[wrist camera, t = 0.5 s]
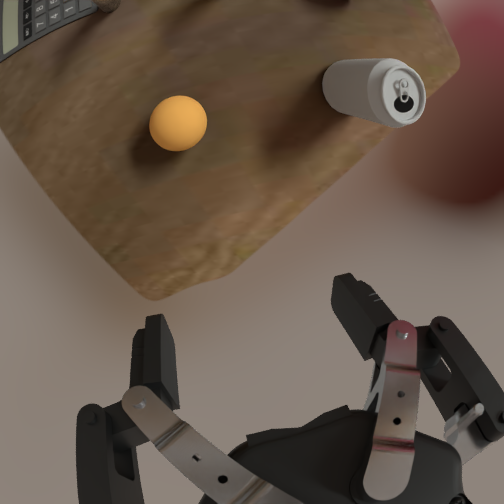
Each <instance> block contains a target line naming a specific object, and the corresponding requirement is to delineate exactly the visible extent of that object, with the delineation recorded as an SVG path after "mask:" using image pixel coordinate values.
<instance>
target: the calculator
mask: <svg viewBox="0 0 504 504" xmlns="http://www.w3.org/2000/svg"><path fill="white" fill-rule="evenodd" d="M97 10H98V6H97V5H96V4H95V3H93V2H92V1H91V0H0V62H2V61H3V60H5V59H6V58H8V57H9V56H11V55H12V54H14V53H15V52H17V51H18V50H20V49H21V48H23V47H25V46H26V45H28V44H30V43H31V42H33V41H35V40H37V39H39V38H40V37H42V36H44V35H46V34H48V33H50V32H52V31H54V30H56V29H58V28H60V27H62V26H64V25H66V24H68V23H70V22H73V21H75V20H77V19H80V18H82V17H84V16H87V15H89V14H92V13H94V12H96V11H97Z"/></svg>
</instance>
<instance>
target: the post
mask: <svg viewBox="0 0 504 504" xmlns="http://www.w3.org/2000/svg"><path fill="white" fill-rule="evenodd" d="M91 1H92V2H93V3H95V4H96V5H97V6H98V7H99V8H100V9H101V10H102V11H104V12H112V11H114V10H115V9H117V8H118V7H119V5H120V2H121V0H91Z"/></svg>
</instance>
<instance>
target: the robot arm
mask: <svg viewBox="0 0 504 504" xmlns="http://www.w3.org/2000/svg"><path fill="white" fill-rule="evenodd" d="M331 305H332V308H333V311H334V313H335V315H336V316H337V318H338V319H339V321H340V322H341V324H342V326H343V327H344V329H345V330H346V332H347V333H348V335H349V337H350V338H351V340H352V341H353V343H354V344H355V346H356V348H357V349H358V351H359V353H360V354H361V356H362V357H363V359H364V361H366V360H368V359H371V358H373V359H374V360H375V363H374V366H373V372H372V377H371V382H370V388H369V392H368V397H367V400H366V403H365V405H364V408H363V410H349V408H348V406H347V405H345V406H342V407H339V408H337V409H334V410H331V411H329V412H326V413H323V414H322V415H320V416H319V417H317V418H315V419H314V420H312V421H311V422H309V423H307V424H306V425H304V426H302V427H299V428H284V429H270V430H266V431H262V432H258V433H254V434H249V435H246V437H247V441H246V442H244V443H242V444H240V445H239V446H237V447H236V448H234V449H233V450H232V451H231V452H230V453H229V454H228V455H226V454H224V453H223V452H222V451H221V450H220V449H218V448H217V447H216V446H214V445H213V444H212V443H211V442H209V441H208V440H207V439H206V438H204V437H203V436H202V435H201V434H200V433H198V432H197V431H196V430H195V429H194V428H193V427H191V426H190V425H189V424H188V423H186V422H185V421H183V420H181V419H180V418H179V417H178V416H177V415H176V414H175V413H174V412H173V410H175V409H180V405H179V395H178V385H177V384H178V383H177V371H176V356H175V344H174V340H173V337H172V334H171V332H170V329H169V327H168V325H167V322H166V320H165V317H164V315H163V314H157V315H152V316H147V317H146V324H145V328H144V329H139V330H138V331H137V332H136V334H135V336H134V338H133V344H132V358H131V372H130V387H129V389H128V390H127V391H126V392H125V394H124V395H123V398H122V400H121V401H119V402H117V403H115V404H112V405H110V406H107V407H105V408H102V407H100V406H99V405H97V404H88V405H86V406H84V407H82V408H81V410H80V411H79V413H78V416H77V427H76V468H77V487H78V498H79V504H144V499H143V493H142V488H141V482H140V475H139V469H138V461H137V453H136V446H138V445H141V444H143V443H146V442H148V441H151V442H152V443H153V444H154V445H155V447H156V448H157V449H158V450H159V452H160V453H161V454H162V455H163V456H164V457H165V458H166V459H167V460H168V461H169V462H171V463H172V464H173V465H174V466H175V467H176V468H177V469H178V470H179V471H180V472H181V473H182V474H183V475H184V476H185V477H187V478H188V479H189V480H190V481H191V482H192V483H194V484H195V485H196V486H197V487H198V488H200V489H201V490H202V491H203V492H204V495H203V497H202V499H201V500H200V502H199V504H472V503H471V502H470V501H469V500H468V498H467V497H466V496H465V494H464V491H463V485H462V465H464V464H465V463H466V462H468V461H469V460H470V459H472V458H473V457H474V456H475V455H477V454H478V453H480V452H481V451H483V450H484V449H486V448H487V447H489V446H490V445H492V444H493V443H495V442H496V441H498V440H499V439H500V438H502V437H503V436H504V392H503V390H502V389H501V387H500V386H499V384H498V383H497V381H496V380H495V378H494V377H493V375H492V374H491V372H490V371H489V369H488V368H487V367H486V365H485V364H484V362H483V361H482V359H481V358H480V357H479V356H478V354H477V353H476V351H475V350H474V349H473V347H472V346H471V345H470V343H469V342H468V341H467V339H466V338H465V337H464V335H463V334H462V333H461V332H460V330H459V329H458V328H457V327H456V325H455V324H454V323H453V322H452V321H451V320H450V319H448V318H446V317H443V316H438V317H435V318H434V319H433V320H432V321H431V323H430V325H429V326H419V327H414V326H413V325H412V324H411V323H409V322H407V321H405V320H398V319H397V318H396V316H395V315H394V314H393V313H392V311H391V310H390V309H389V308H388V307H387V305H386V304H385V303H384V302H383V301H382V300H381V298H380V297H379V296H378V295H377V294H376V292H375V291H374V290H373V289H372V287H371V286H369V285H368V284H366V283H365V282H363V281H361V280H360V281H357V280H356V279H355V278H354V276H353V275H352V274H351V273H346V274H342V275H338V276H335V277H334V280H333V288H332V296H331ZM441 357H442V358H443V359H444V361H445V362H446V364H447V365H448V367H449V368H450V370H451V373H450V371H449V370H448V368H447V367H446V365H445V364H444V362H443V361H442V359H441ZM420 378H421V380H422V382H423V383H424V385H425V387H426V388H427V390H428V392H429V393H430V395H431V397H432V399H433V400H434V402H435V404H436V406H437V407H438V409H439V411H440V413H441V415H442V416H443V418H444V420H445V422H446V423H445V427H444V432H445V433H444V439H445V440H446V441H447V442H444V441H442V440H439V439H436V438H434V437H431V436H428V435H426V434H423V433H420V432H418V431H416V430H415V429H416V420H417V413H418V403H419V392H420Z"/></svg>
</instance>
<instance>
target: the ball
mask: <svg viewBox="0 0 504 504" xmlns="http://www.w3.org/2000/svg"><path fill="white" fill-rule="evenodd" d="M206 126H207V118H206V114H205V111H204V109H203V107H202V106H201V105H200V104H199V103H198V102H197V101H196V100H194V99H192V98H190V97H186V96H173V97H170V98H167V99H165V100H163V101H162V102H161V103H159V104H158V105H157V107H156V108H155V109H154V111H153V113H152V115H151V117H150V122H149V128H150V133H151V136H152V138H153V139H154V141H155V142H156V143H157V144H158V145H159V146H161V147H162V148H164V149H167V150H170V151H183V150H186V149H189V148H191V147H193V146H194V145H195V144H197V143H198V142H199V141H200V139H201V138H202V137H203V135H204V133H205V130H206Z"/></svg>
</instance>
